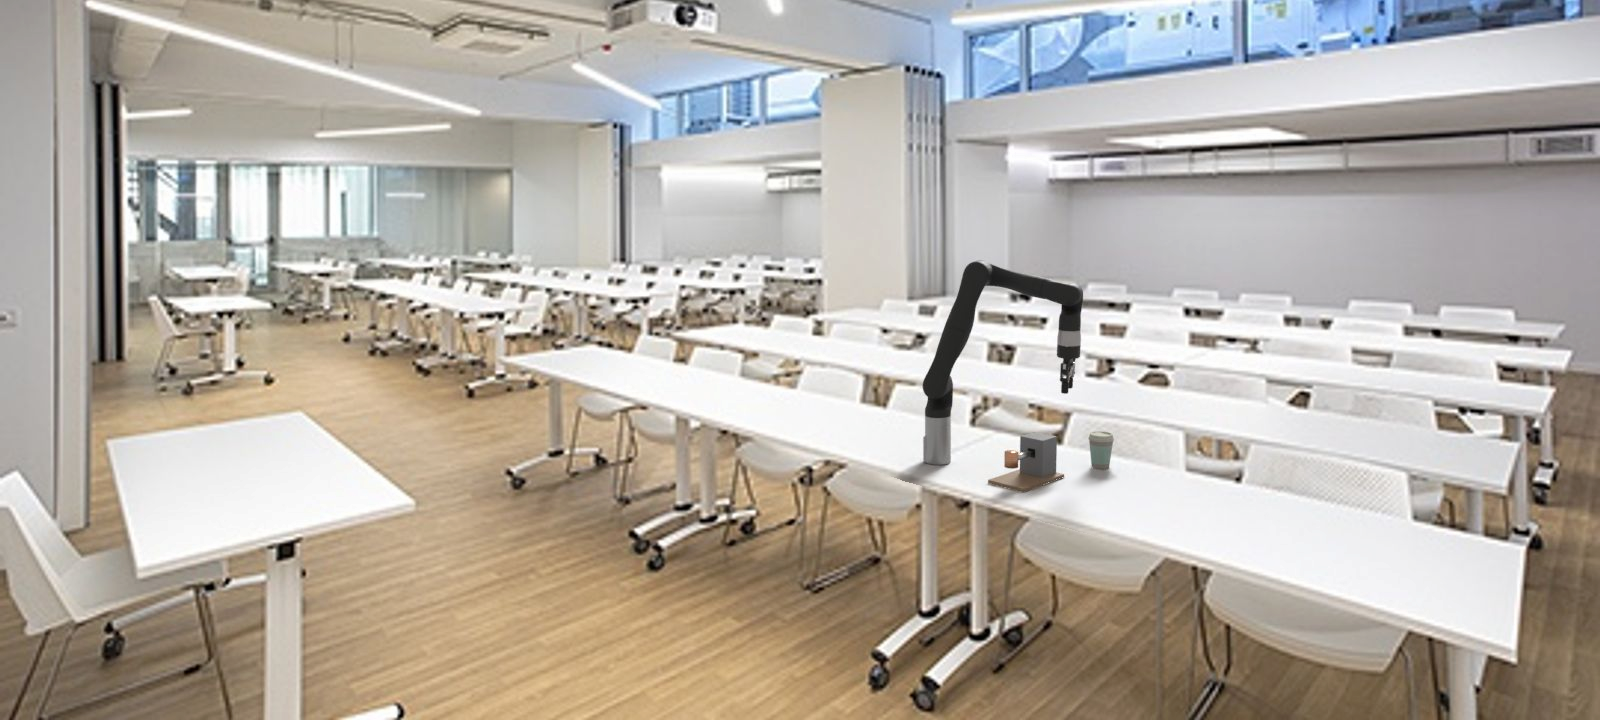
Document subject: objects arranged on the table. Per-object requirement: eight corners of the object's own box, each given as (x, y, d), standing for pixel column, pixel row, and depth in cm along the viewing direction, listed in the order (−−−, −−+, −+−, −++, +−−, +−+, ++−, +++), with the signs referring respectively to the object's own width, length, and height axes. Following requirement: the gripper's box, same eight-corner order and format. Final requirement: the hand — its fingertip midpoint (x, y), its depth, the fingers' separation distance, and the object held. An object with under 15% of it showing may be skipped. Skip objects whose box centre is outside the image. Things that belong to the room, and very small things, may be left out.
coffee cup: (1114, 471, 312) (1115, 437, 310) (1088, 470, 313) (1089, 436, 311) (1111, 464, 320) (1112, 431, 318) (1086, 463, 322) (1087, 430, 320)
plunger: (1012, 469, 294) (1012, 454, 293) (1001, 466, 297) (1001, 451, 296) (1037, 461, 303) (1038, 446, 302) (1026, 458, 306) (1026, 444, 305)
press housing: (1023, 492, 291) (1023, 450, 289) (988, 483, 301) (988, 442, 299) (1064, 477, 306) (1065, 437, 303) (1029, 469, 316) (1029, 430, 314)
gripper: (1061, 339, 310) (1059, 385, 313) (1053, 346, 298) (1051, 394, 301) (1083, 340, 307) (1081, 387, 310) (1076, 347, 294) (1074, 396, 297)
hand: (1066, 390), depth 305 cm, fingers open, 8 cm apart
